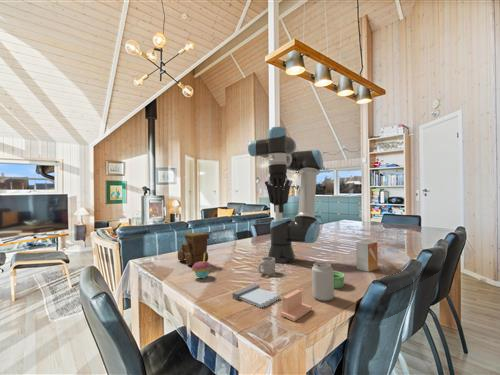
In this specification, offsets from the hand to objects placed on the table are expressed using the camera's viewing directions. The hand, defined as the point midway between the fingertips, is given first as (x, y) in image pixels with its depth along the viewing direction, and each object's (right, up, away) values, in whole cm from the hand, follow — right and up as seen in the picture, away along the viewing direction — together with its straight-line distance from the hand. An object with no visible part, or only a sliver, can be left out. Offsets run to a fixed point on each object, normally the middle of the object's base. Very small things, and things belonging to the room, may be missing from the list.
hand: (279, 220), depth 106 cm
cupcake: (-34, -27, +10) cm, 45 cm away
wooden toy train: (-44, -28, +34) cm, 62 cm away
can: (+14, -26, -15) cm, 33 cm away
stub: (+3, -26, -26) cm, 37 cm away
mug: (-5, -27, +13) cm, 30 cm away
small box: (+45, -26, +17) cm, 54 cm away
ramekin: (+22, -26, -3) cm, 34 cm away
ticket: (-10, -26, -14) cm, 31 cm away
